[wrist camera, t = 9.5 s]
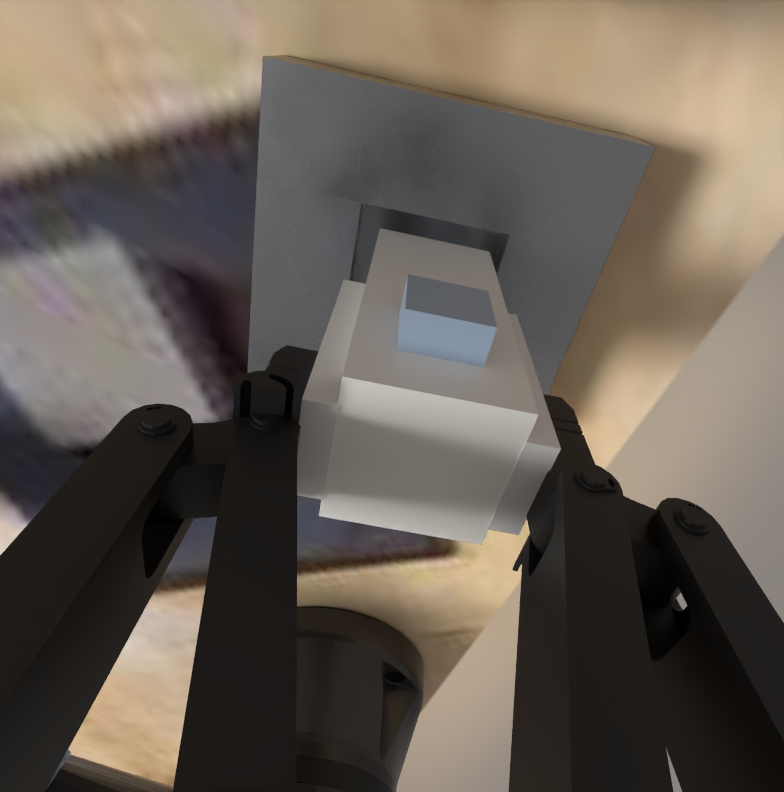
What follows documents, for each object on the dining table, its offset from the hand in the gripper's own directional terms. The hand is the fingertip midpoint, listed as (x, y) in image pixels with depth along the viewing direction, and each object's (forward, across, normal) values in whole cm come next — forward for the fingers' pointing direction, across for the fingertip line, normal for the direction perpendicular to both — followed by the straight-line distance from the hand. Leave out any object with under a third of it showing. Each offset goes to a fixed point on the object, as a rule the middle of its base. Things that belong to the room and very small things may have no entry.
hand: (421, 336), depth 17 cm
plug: (+4, 0, 0) cm, 4 cm away
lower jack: (+7, 0, 0) cm, 7 cm away
